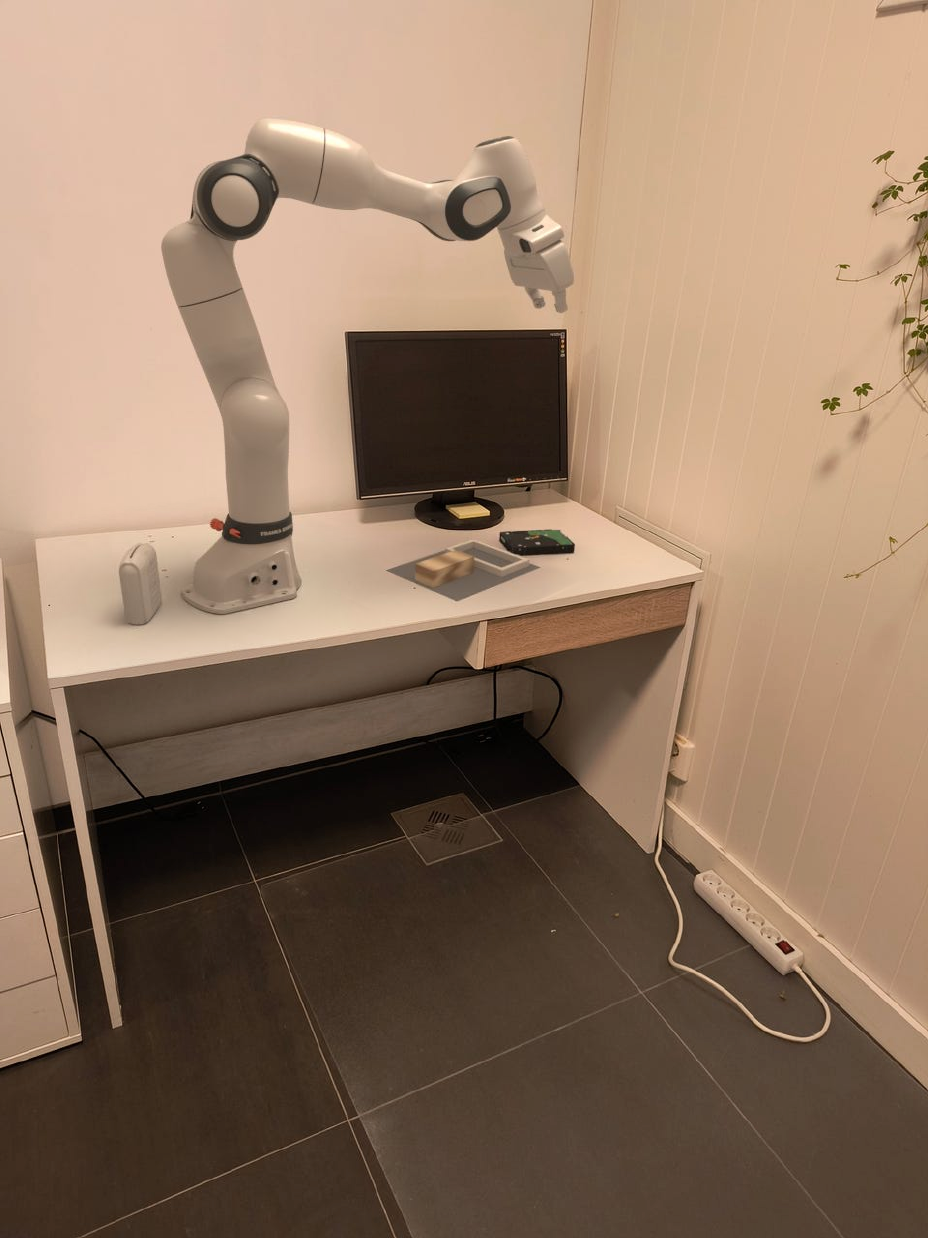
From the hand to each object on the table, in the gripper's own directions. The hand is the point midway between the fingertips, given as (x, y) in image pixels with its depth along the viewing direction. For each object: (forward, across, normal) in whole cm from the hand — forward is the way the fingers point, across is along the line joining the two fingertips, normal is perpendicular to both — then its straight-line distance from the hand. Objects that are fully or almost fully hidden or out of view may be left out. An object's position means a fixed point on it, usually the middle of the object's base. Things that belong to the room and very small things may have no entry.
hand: (551, 309), depth 151 cm
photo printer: (+11, +5, -92) cm, 93 cm away
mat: (+39, 0, -36) cm, 53 cm away
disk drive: (+49, -10, -18) cm, 53 cm away
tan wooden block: (+36, +2, -41) cm, 55 cm away
